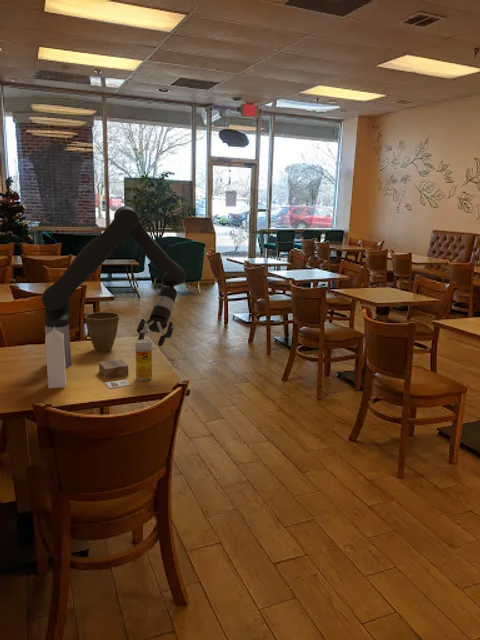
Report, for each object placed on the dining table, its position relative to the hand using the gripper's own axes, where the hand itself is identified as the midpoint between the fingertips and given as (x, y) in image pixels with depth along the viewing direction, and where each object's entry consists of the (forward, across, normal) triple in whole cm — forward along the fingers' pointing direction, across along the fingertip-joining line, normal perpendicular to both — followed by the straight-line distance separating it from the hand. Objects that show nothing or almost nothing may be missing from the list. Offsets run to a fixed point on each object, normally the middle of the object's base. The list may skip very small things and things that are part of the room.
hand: (149, 344), depth 198 cm
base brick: (+12, -14, +5) cm, 19 cm away
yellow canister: (+12, 0, +5) cm, 14 cm away
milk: (+25, -26, -8) cm, 37 cm away
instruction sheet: (+19, -6, -1) cm, 20 cm away
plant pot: (-6, -34, +24) cm, 42 cm away
